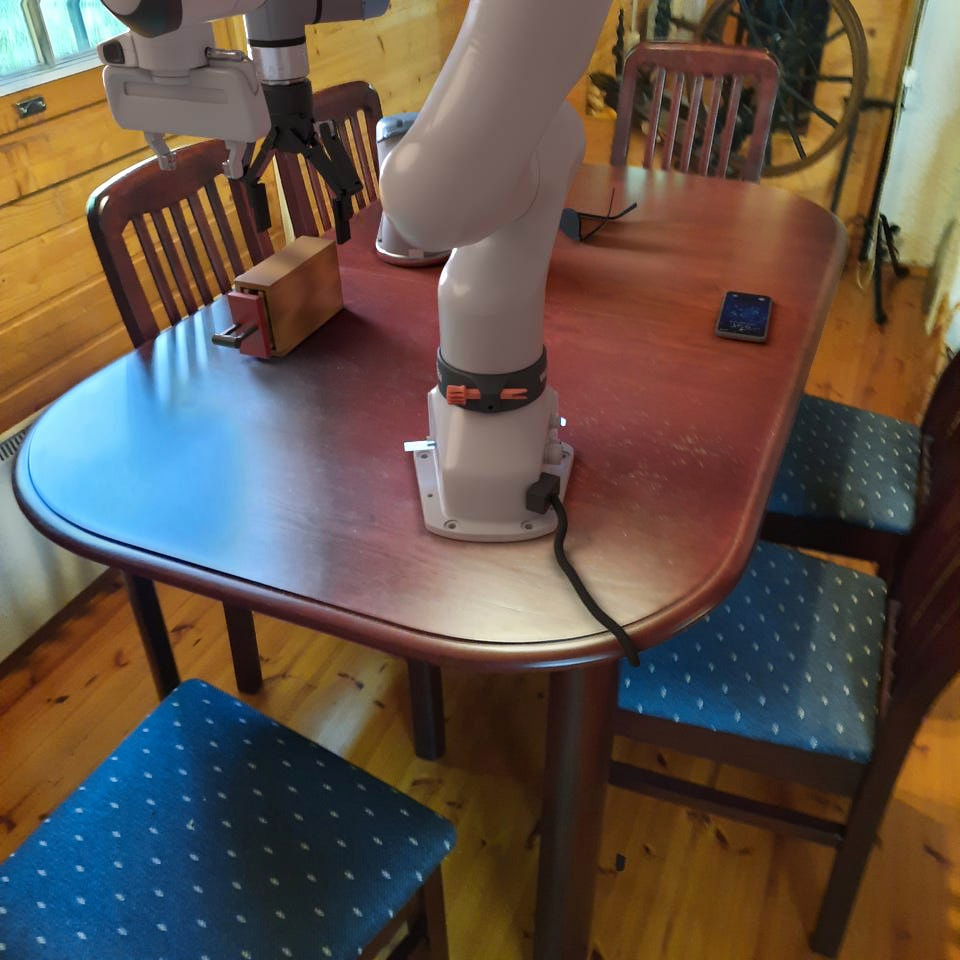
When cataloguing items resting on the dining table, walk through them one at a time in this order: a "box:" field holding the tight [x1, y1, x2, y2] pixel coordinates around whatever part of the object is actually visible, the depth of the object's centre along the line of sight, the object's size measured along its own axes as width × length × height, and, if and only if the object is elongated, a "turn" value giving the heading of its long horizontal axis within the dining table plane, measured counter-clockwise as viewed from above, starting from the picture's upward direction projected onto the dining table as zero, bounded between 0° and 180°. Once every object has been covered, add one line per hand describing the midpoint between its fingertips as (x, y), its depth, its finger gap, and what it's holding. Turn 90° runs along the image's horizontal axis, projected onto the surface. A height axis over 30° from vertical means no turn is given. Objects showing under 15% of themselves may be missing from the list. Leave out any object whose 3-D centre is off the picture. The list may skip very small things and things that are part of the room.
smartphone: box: [714, 290, 774, 343], centre depth 128 cm, size 7×1×15 cm
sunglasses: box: [558, 187, 638, 242], centre depth 159 cm, size 17×14×5 cm
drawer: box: [211, 288, 275, 360], centre depth 121 cm, size 22×5×9 cm, turn 157°
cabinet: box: [233, 235, 345, 358], centre depth 126 cm, size 18×6×11 cm, turn 157°
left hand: (303, 235), depth 125 cm, fingers open, 13 cm apart
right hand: (201, 173), depth 103 cm, fingers open, 8 cm apart
